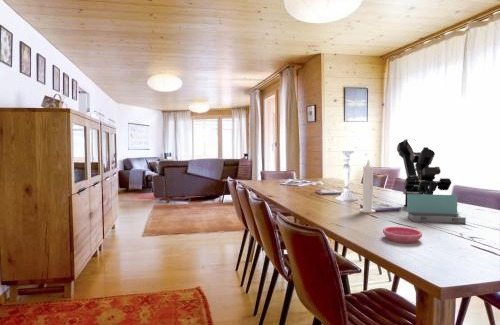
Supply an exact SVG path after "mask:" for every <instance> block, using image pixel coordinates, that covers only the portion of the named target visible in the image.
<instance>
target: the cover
mask: <svg viewBox="0 0 500 325" xmlns="http://www.w3.org/2000/svg"><path fill="white" fill-rule="evenodd" d="M406 208H407V209H406V210H407V213H408V212H419V213H450V214H458V195H457V194H433V195H427V194H424V193H423V194H407V206H406Z"/></svg>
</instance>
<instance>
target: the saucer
mask: <svg viewBox="0 0 500 325" xmlns="http://www.w3.org/2000/svg"><path fill="white" fill-rule="evenodd" d="M382 233H383V234H384V236H385V237H386V239H387V240H389V241H392V242H394V241H395V242H396V243H399V242H400V243H401V244H414V243H417V242H418V240H420V239H421V238H422V237H423V232H421V230H418V229H414V228H409V227H404V226H388V227H387V226H386V227H384V228H382ZM395 242H394V243H395Z"/></svg>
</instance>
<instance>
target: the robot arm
mask: <svg viewBox="0 0 500 325" xmlns="http://www.w3.org/2000/svg"><path fill="white" fill-rule="evenodd" d="M396 151H397V152H398V153H397V154H398V156H399V157H401V158H402V159H403V164H404V169H405V173H406V178H405V181H404V183H403V188H402V194H404V195H405V199H404V202H405V204H403V206H404V207H407V194H427V195H434V192H435V191H436V190H437V189H438V190H439V191H448V190H449V189H450V186H451V184H452V180H451V179H450V178H446V177H444V178H442V177H441V178H439V180H435V179H436V177H435V176H437V175H440V174H441V172H442V170H441V168H440V166H435V167H433V166H432V167H431V164H432V162H433V160H434V157H435V155H436V153H435V151H434V150H433V149H431V148H429V147H428V146H427V147H424V146H423V148H422V149H421V148H420V146H419V145H418V144H417V142H416V139H414V138H406V139H405V138H404V140H403V141H400V142H399V143H398V144H397V146H396Z"/></svg>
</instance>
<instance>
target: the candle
mask: <svg viewBox="0 0 500 325" xmlns="http://www.w3.org/2000/svg"><path fill="white" fill-rule="evenodd" d="M373 188H374V166H372V165H371V164H370V160H369V159H368V160H367V163H366V164H364V166H363V170H362V208H359V212H361V213H365V214H367V213H368V214H374V213H376V210H375V209H373V199H374V198H373V197H374V195H373V194H374V189H373Z"/></svg>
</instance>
